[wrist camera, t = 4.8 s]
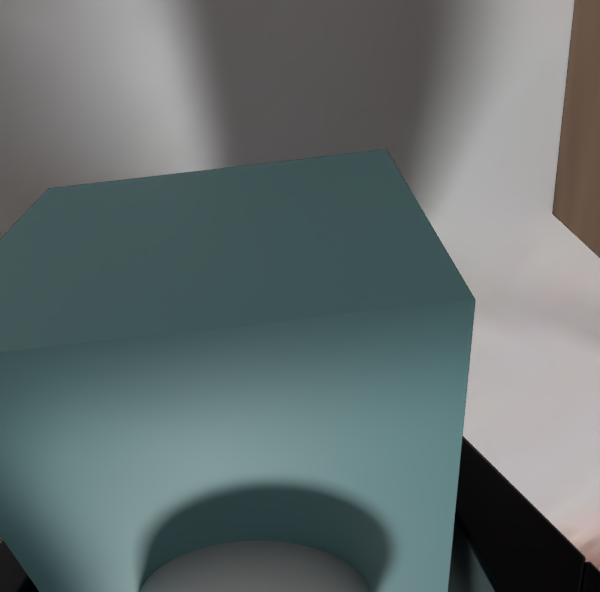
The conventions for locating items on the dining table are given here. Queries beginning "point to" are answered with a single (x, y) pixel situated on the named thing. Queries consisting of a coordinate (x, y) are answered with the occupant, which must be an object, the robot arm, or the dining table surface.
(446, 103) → the dining table surface
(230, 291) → the block
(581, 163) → the walnut stand
